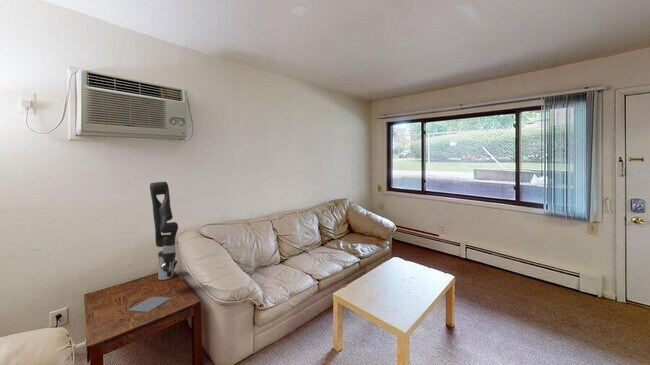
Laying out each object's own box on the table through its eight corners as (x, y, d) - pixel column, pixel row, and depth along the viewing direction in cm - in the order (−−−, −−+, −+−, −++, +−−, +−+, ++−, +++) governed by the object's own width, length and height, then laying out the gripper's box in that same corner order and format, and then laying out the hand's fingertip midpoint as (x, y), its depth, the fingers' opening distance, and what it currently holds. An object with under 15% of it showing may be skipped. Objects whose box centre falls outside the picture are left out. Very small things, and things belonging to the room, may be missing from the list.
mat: (152, 297, 167) (152, 296, 167) (171, 298, 165) (171, 297, 165) (127, 311, 149) (127, 310, 149) (148, 312, 147) (148, 311, 147)
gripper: (171, 249, 180) (171, 273, 180) (156, 254, 167) (156, 280, 167) (181, 249, 179) (181, 273, 179) (166, 254, 166) (166, 280, 166)
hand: (169, 276), depth 173 cm, fingers closed
